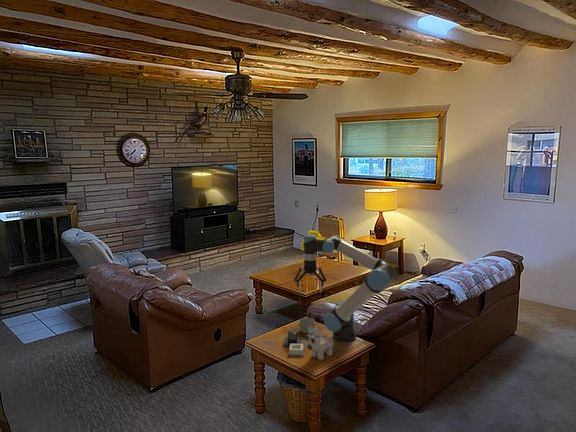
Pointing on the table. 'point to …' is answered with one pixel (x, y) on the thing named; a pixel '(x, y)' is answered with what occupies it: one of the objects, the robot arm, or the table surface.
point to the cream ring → (296, 349)
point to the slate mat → (296, 354)
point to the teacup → (305, 324)
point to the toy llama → (318, 343)
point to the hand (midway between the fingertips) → (310, 291)
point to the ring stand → (292, 337)
